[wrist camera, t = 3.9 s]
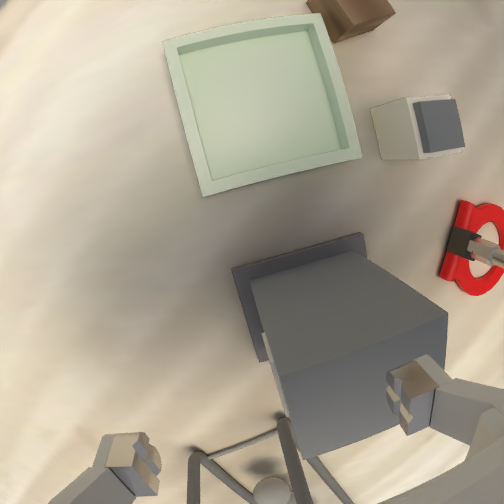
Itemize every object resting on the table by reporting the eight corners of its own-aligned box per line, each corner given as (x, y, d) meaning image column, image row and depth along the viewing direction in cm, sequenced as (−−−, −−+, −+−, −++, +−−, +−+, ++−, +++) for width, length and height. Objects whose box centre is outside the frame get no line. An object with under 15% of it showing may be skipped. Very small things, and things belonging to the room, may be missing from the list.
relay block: (410, 104, 22) (457, 93, 16) (421, 151, 23) (469, 152, 17) (369, 108, 21) (412, 95, 16) (381, 159, 23) (427, 160, 17)
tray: (312, 24, 19) (320, 13, 17) (350, 158, 22) (362, 157, 20) (166, 51, 19) (162, 41, 17) (204, 194, 22) (202, 197, 20)
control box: (360, 232, 24) (464, 286, 12) (371, 321, 26) (451, 407, 14) (231, 268, 23) (248, 364, 12) (258, 358, 26) (287, 474, 14)
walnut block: (345, -8, 19) (365, -30, 15) (372, 30, 20) (395, 13, 16) (305, 3, 19) (321, -21, 15) (333, 44, 20) (353, 24, 16)
